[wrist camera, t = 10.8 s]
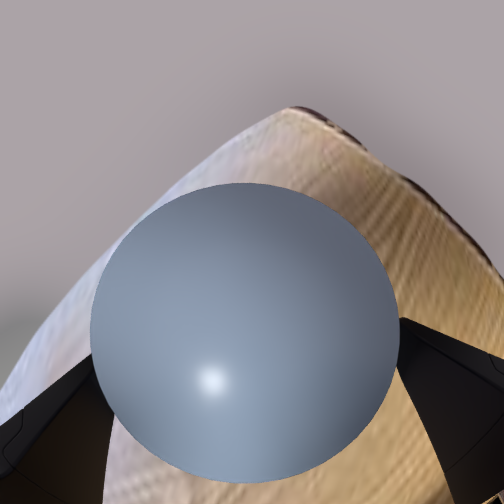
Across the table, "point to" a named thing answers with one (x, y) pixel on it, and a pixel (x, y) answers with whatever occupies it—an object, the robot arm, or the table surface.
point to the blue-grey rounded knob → (244, 333)
